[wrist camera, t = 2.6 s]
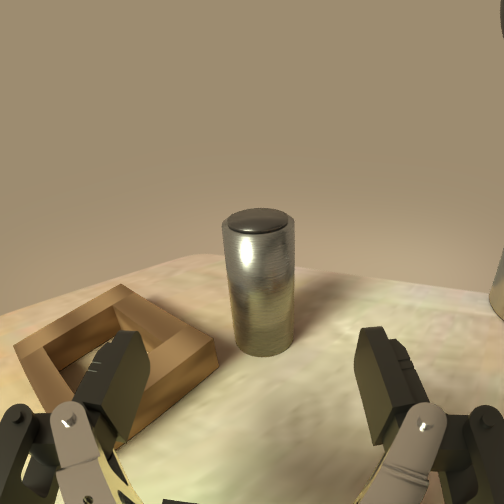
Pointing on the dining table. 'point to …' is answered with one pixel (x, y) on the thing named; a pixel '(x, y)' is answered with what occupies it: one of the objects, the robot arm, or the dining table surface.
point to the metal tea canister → (261, 279)
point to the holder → (105, 327)
